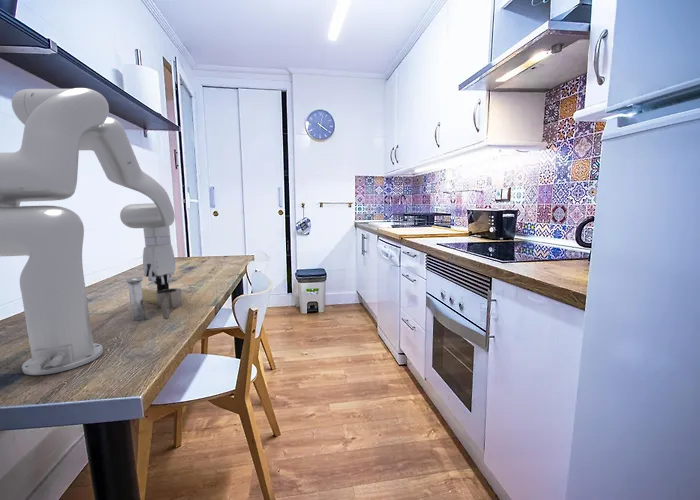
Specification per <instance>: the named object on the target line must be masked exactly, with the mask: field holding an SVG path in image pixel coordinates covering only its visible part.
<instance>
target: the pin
mask: <svg viewBox="0 0 700 500" xmlns="http://www.w3.org/2000/svg"><path fill="white" fill-rule="evenodd" d="M142 281H143V276H132V277H128V278H125V282H126V283H127V285H128V292H129V301H130V302H129V303H130V311H131V319H132V321H133V322H139V321H142V320H145V319H146V315H145V314H146V313H145V305H144V304H145V303H144V302H143V296H142V288H143V287H142Z"/></svg>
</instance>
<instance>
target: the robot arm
mask: <svg viewBox="0 0 700 500" xmlns="http://www.w3.org/2000/svg"><path fill="white" fill-rule="evenodd" d="M109 106H110V105H109V103H108V101H107V99H106V97H105V96H104V95H103V94H101V93H100V92H98V91H96V90H94V89H92V88H87V87H74V88H25V89H20V90H18V91H16V93H14V94H13V96H12V98H11V107H12V111H13V113H14V115H15V116H16V118H17V119H18V120H19V121H20V122H21V123H22V124H23V125H24V127H23V133H22V140H21V145H20V149H19V150H17V151H15V152H0V257H1V258H2V257H22V256H26V257H28V259H27V262H26V263H25V265H24V266H23V269H22V270H21V272H20V277H19V287H20V288H19V289H20V292H21V299H22V304H23V305H22V306H23V312H24V317H25V318H24V319H25V323H26V324H25V325H26V330H27V336H28V342H29V348H30V353H31V354H30V355H31V358H29V359H27V360H26V361H24V362H23V364H22V366H21V369H22V373H24V374H25V375H29V376H43V375H51V374H57V373H62V372H66V371H69V370H73V369H76V368H79V367H82V366H83V365H86V364H88V363H91V362H92V361H95V360H96V359H99V357H100V356H101V355H102V354H103V353H104V348H103V345H102V344H100V343H96V342H94V340H93V333H92V326H91V319H90V318H91V317H90V310H89V304H88V298H87V296H88V295H87V290H86V283H85V277H84V276H85V275H84V266H83V244H84V237H85V235H84V234H85V226H84V223H83V221H82V218H81V217H80V216H79V215H78V214H77V213H76V212H75V211H73V210H72V209H69V208H67V207H63V206H57V205H22V206H21V203H23V202H51V201H52V202H53V201H54V202H55V201H62V200H64V201H65V200H68V199H70V198H71V197H72V196H73V195H74V194H75V193H76V189H77V183H78V170H79V157H80V156H79V154H80V151H92V152H94V154H95V157H96V158H97V160H98V162H99V163H100V166H101V168H102V171H103V172H104V174H105V176H106V178H107V179H108V181H110V182H112V183H113V184H116V185H119V186H121V187H123V188H126V189H130V190H133V191H135V192H138V193H141V194H143V195H144V196H146V197H148V198H149V199H150V200H151V201H152V202H153V203H149V202H148V203H132V204H127V205H125V206H124V207H122V209H121V210H120V213H119V217H120V221H121V223H122V224H123V225H124V226H126V227H128V228H130V229H143V236H144V245H145V246H144V247H143V250H142V251H143V252H142V270H143V275H144V277H148V282H153V283H154V284H155V286H156V290H159V291H160V290H164V289H170V285H169V283H170V282H171V281H170V279H171V277H172V276H174V275H175V271H176V260H175V254H174V249H173V246H172V241H171V230H170V227H171V226H172V225H173V223H174V222H175V218H176V217H175V210H174V207H173V204H172V202H171V198H170V196H169V194H168V192H167V191H166V189H165V188H164V187H163V186H162V185H161V184H160V183H159V182H158V181H156V179H154V178H153V177H152V176H150V175H149V174H147V173H146V172H144V171H143V170H142V169H141V167H140V164H139V162H138V159H137V157H136V155H135V152H134V150H133V147H132V145H131V142H130V140H129V138H128V135H127V133H126V130H125V128H124V126H123V125H122V123H121V122H120V121H119V120H117V119H116V118H114V117H110V116H109V114H110V113H109V112H110V107H109Z"/></svg>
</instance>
